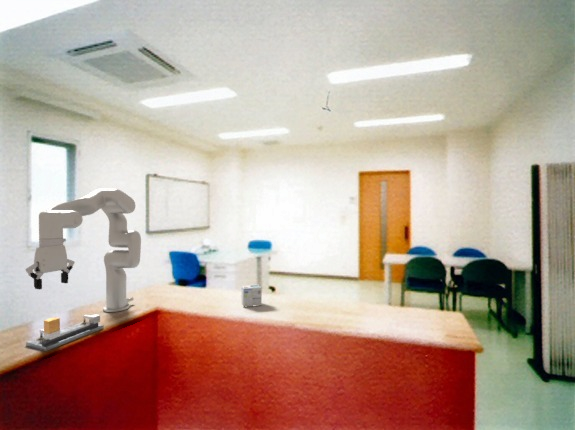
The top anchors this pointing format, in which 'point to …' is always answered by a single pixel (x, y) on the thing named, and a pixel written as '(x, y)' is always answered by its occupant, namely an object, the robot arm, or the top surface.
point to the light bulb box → (251, 295)
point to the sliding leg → (51, 328)
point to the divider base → (63, 341)
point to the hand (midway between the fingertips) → (51, 285)
